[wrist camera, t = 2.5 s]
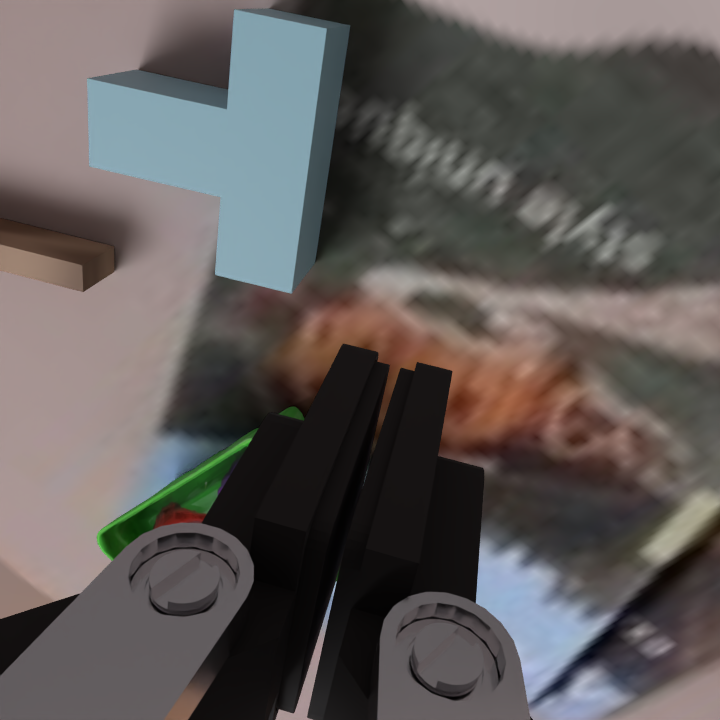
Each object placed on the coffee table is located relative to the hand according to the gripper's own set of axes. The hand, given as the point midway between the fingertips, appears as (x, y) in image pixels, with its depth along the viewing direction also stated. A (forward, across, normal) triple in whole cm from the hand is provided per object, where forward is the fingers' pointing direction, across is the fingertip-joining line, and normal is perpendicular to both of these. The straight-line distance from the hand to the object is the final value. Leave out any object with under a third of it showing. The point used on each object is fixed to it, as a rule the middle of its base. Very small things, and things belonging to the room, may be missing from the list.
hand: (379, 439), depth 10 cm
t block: (+17, +9, 0) cm, 20 cm away
